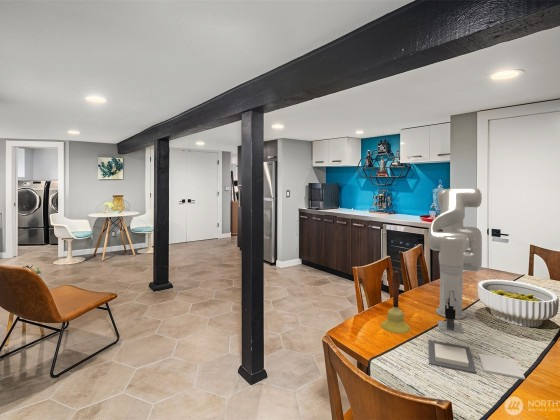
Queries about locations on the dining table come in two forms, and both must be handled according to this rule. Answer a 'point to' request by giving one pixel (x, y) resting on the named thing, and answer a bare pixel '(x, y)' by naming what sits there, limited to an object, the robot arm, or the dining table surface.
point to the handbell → (395, 311)
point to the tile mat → (451, 366)
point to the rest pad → (501, 366)
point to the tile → (451, 355)
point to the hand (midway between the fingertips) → (449, 316)
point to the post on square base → (450, 326)
